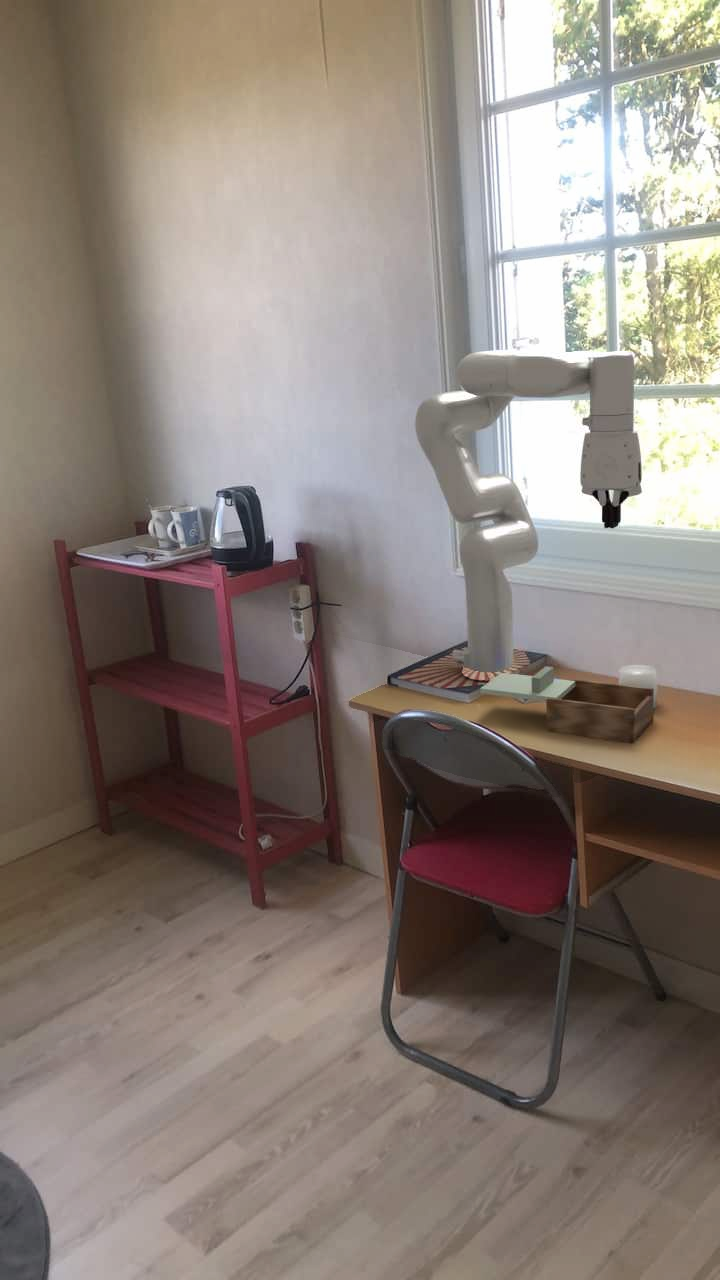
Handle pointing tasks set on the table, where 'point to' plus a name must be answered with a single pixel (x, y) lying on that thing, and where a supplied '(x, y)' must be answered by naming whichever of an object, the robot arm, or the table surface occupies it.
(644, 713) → the walnut box
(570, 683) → the lid
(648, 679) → the white round canister
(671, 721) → the table surface
